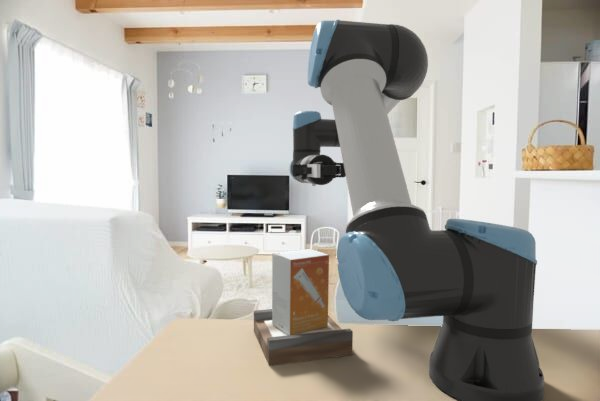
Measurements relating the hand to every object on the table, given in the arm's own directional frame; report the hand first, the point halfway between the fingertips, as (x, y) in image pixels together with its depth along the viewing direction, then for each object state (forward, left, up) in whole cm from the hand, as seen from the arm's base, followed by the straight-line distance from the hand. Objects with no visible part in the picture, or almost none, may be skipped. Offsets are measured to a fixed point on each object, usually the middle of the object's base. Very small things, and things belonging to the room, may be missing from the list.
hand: (350, 170), depth 87 cm
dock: (-12, +14, -30) cm, 35 cm away
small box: (-11, +14, -27) cm, 33 cm away
